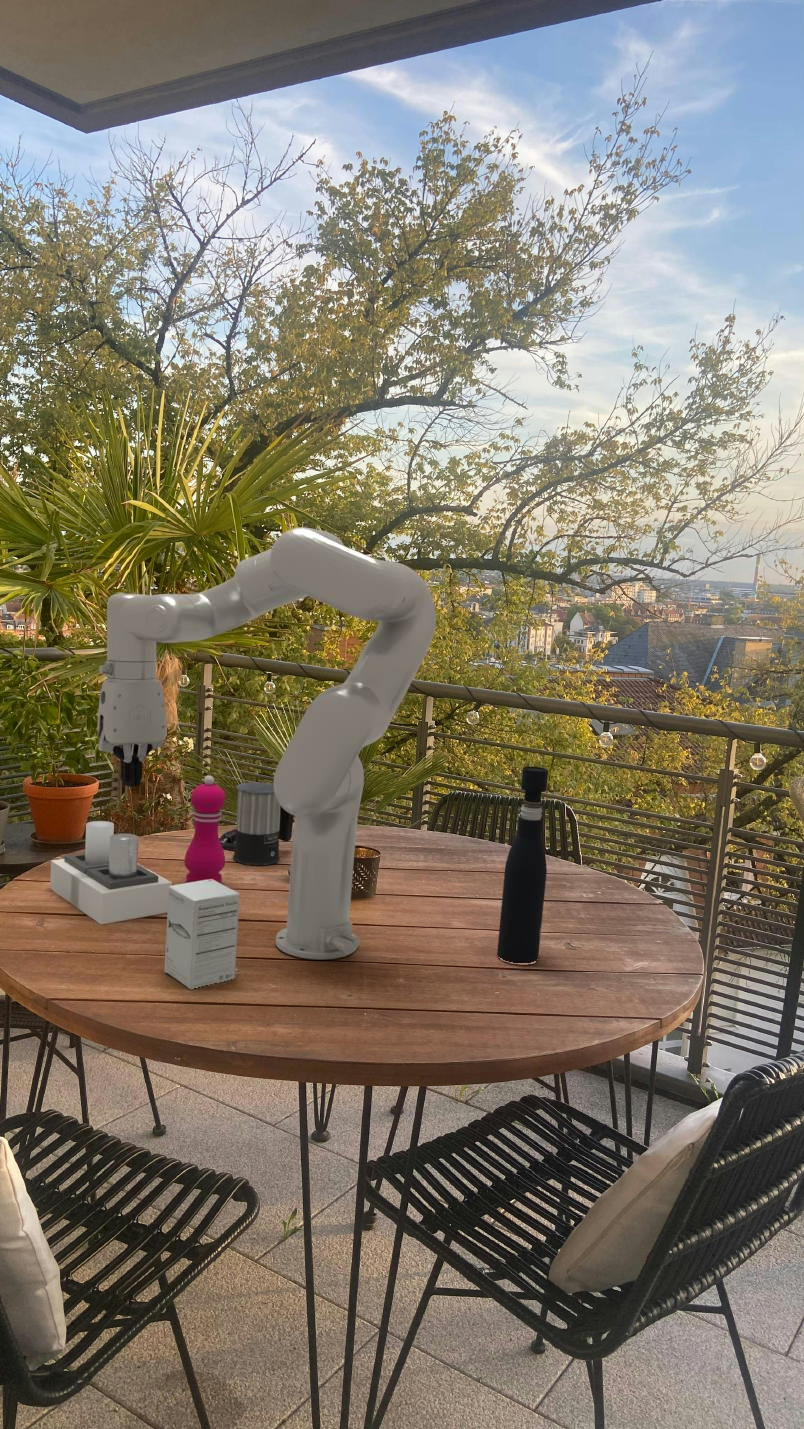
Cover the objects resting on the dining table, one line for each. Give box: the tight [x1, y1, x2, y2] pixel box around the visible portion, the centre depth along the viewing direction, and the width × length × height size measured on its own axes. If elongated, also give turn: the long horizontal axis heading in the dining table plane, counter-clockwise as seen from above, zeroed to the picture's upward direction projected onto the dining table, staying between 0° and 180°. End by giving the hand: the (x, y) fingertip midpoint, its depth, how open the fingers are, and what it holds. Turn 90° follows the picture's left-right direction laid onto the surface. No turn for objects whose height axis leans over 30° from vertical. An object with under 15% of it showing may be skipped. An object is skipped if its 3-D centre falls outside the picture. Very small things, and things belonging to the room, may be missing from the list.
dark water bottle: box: [496, 765, 549, 963], centre depth 150 cm, size 6×6×30 cm
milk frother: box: [219, 781, 295, 866], centre depth 196 cm, size 14×16×15 cm
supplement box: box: [164, 879, 241, 990], centre depth 135 cm, size 7×7×13 cm
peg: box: [108, 833, 139, 880], centre depth 159 cm, size 4×4×12 cm
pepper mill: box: [183, 775, 226, 884], centre depth 174 cm, size 7×7×20 cm
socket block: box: [49, 820, 173, 925], centre depth 162 cm, size 20×12×12 cm, turn 42°
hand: (131, 785), depth 157 cm, fingers closed
